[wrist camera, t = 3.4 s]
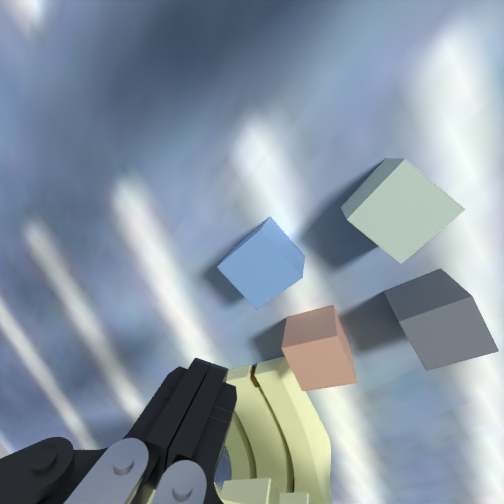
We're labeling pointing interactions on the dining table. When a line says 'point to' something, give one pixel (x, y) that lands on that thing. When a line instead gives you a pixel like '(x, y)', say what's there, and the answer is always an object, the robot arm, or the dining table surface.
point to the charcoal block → (440, 320)
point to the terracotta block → (318, 349)
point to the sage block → (400, 208)
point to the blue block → (263, 264)
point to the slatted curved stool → (274, 440)
